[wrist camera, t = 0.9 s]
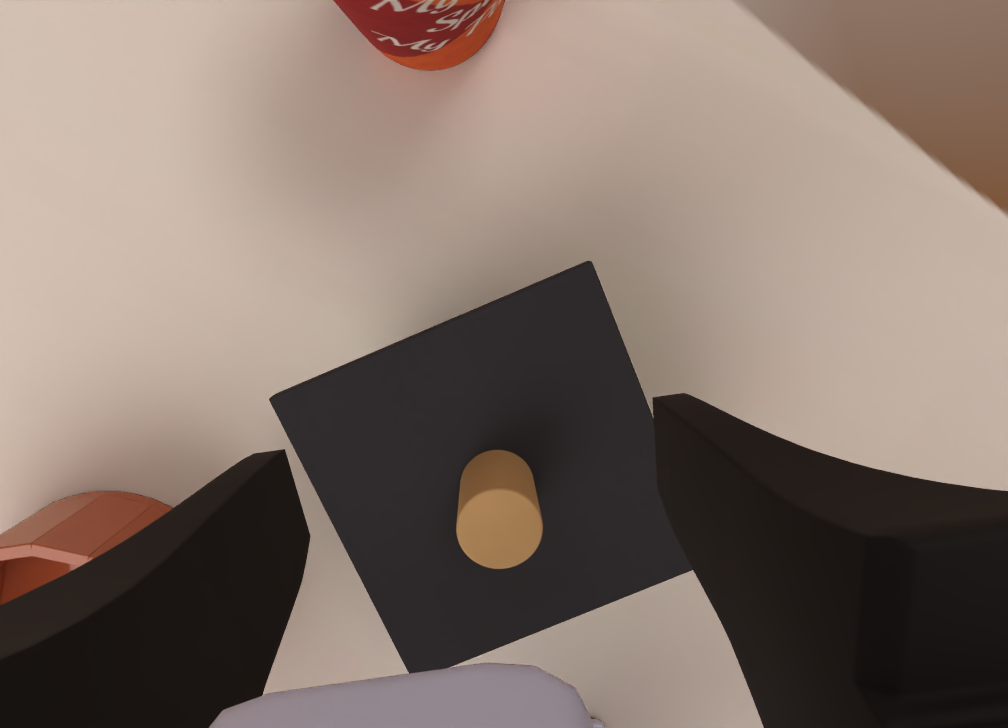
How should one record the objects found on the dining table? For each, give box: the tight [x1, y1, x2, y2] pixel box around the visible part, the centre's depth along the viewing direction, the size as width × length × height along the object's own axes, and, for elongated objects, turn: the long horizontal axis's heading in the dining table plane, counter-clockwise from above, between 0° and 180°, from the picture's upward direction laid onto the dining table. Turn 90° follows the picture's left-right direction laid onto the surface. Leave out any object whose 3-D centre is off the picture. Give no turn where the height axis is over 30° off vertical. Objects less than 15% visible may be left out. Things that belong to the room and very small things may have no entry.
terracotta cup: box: [0, 491, 173, 605], centre depth 26 cm, size 10×10×5 cm
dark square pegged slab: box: [269, 261, 693, 674], centre depth 20 cm, size 11×11×4 cm
